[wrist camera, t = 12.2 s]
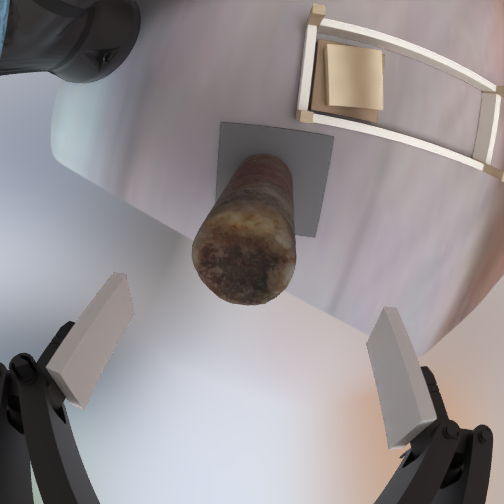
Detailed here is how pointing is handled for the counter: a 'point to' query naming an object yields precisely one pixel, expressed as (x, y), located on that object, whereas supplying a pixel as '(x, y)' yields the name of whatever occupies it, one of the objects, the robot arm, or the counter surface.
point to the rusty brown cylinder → (249, 235)
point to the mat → (289, 152)
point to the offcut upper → (353, 76)
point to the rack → (357, 33)
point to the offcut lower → (319, 90)
